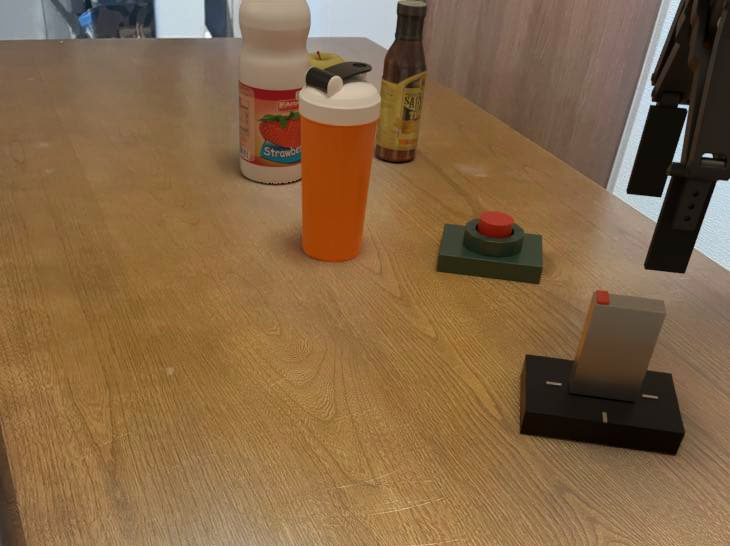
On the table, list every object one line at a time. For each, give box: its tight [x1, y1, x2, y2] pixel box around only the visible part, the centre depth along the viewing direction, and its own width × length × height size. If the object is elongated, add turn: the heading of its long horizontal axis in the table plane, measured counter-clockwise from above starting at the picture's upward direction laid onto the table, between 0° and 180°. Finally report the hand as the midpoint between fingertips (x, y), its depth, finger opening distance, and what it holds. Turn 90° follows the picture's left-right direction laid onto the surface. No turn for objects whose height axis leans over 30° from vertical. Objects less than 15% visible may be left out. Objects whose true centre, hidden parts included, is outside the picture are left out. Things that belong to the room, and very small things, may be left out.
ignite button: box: [477, 211, 515, 238], centre depth 102 cm, size 4×4×2 cm
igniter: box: [436, 217, 544, 285], centre depth 104 cm, size 12×9×4 cm
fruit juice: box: [237, 0, 312, 185], centre depth 113 cm, size 9×9×28 cm
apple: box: [308, 50, 346, 70], centre depth 143 cm, size 10×10×8 cm
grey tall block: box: [569, 289, 667, 402], centre depth 77 cm, size 6×2×9 cm, turn 80°
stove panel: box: [519, 353, 686, 456], centre depth 81 cm, size 14×10×3 cm
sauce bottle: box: [374, 0, 428, 162], centre depth 123 cm, size 7×6×20 cm
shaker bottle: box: [298, 61, 381, 263], centre depth 99 cm, size 9×9×20 cm
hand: (652, 229), depth 65 cm, fingers open, 13 cm apart
